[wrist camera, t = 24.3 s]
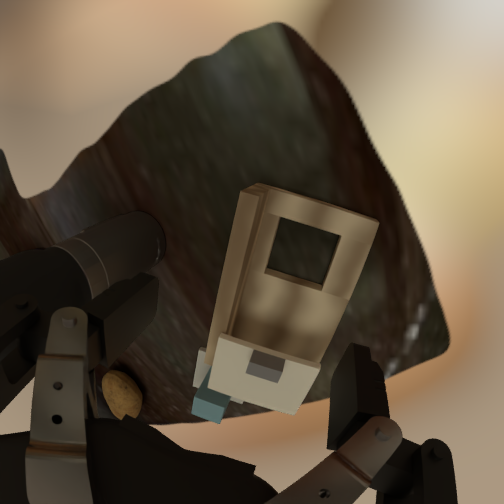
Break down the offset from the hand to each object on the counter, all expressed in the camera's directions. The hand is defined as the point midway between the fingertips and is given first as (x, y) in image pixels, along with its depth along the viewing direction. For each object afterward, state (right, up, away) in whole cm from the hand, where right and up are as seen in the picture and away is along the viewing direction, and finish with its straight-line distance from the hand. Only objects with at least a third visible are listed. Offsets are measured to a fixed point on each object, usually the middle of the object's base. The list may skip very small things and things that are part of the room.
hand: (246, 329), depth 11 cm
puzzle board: (+6, -1, +30) cm, 30 cm away
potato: (-27, -27, +47) cm, 61 cm away
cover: (+1, -13, +26) cm, 29 cm away
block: (-5, -20, +38) cm, 43 cm away
